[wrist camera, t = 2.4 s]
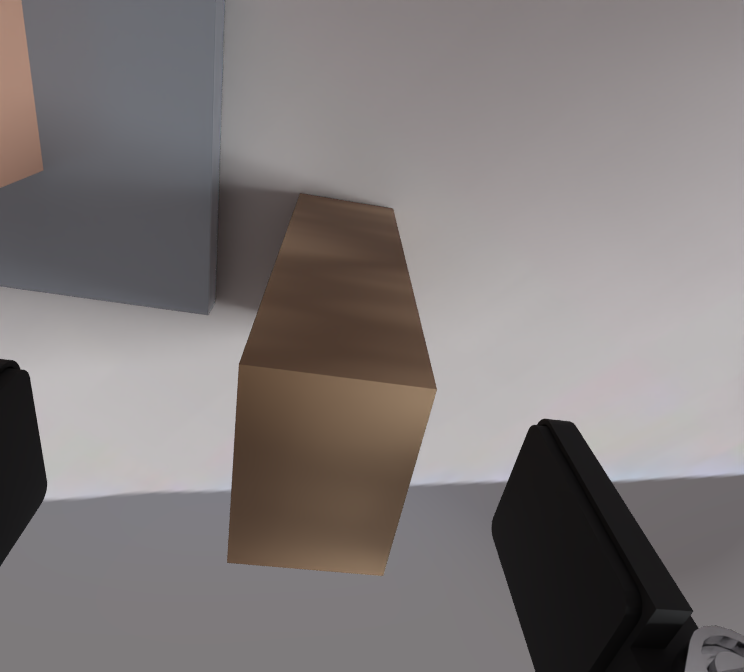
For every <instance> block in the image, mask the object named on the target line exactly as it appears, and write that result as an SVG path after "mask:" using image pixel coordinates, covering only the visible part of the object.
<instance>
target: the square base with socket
mask: <svg viewBox="0 0 744 672" xmlns="http://www.w3.org/2000/svg"><path fill="white" fill-rule="evenodd" d="M224 11H225V0H0V286H2V287H9V288H16V289H23V290H30V291H38V292H45V293H52V294H59V295H66V296H74V297H81V298H88V299H95V300H103V301H110V302H117V303H124V304H131V305H139V306H146V307H153V308H160V309H167V310H175V311H182V312H189V313H196V314H204V315H209V313H210V311H211V309H212V307H213V306H214V304H215V299H216V267H217V235H218V203H219V171H220V139H221V107H222V75H223V43H224Z"/></svg>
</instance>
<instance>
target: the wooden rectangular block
mask: <svg viewBox="0 0 744 672" xmlns="http://www.w3.org/2000/svg"><path fill="white" fill-rule="evenodd" d="M436 391H437V388H436V384H435V380H434V375H433V371H432V367H431V363H430V359H429V355H428V351H427V347H426V342H425V338H424V334H423V330H422V326H421V322H420V318H419V314H418V309H417V305H416V301H415V297H414V293H413V289H412V285H411V281H410V276H409V272H408V268H407V264H406V260H405V256H404V252H403V248H402V243H401V239H400V235H399V231H398V227H397V223H396V219H395V214H394V210H393V209H392V208H386V207H380V206H374V205H368V204H362V203H356V202H350V201H344V200H338V199H332V198H326V197H320V196H314V195H308V194H302V193H300V194H299V197H298V200H297V203H296V206H295V209H294V211H293V214H292V217H291V220H290V223H289V225H288V228H287V231H286V234H285V237H284V239H283V242H282V245H281V248H280V251H279V253H278V256H277V259H276V262H275V265H274V267H273V270H272V273H271V276H270V279H269V281H268V284H267V287H266V290H265V293H264V295H263V298H262V301H261V304H260V307H259V309H258V312H257V315H256V318H255V321H254V323H253V326H252V329H251V332H250V335H249V337H248V340H247V343H246V346H245V349H244V352H243V354H242V357H241V360H240V363H239V372H238V389H237V406H236V422H235V439H234V456H233V473H232V489H231V507H230V524H229V540H228V556H227V563H236V564H248V565H260V566H272V567H283V568H295V569H308V570H319V571H331V572H342V573H355V574H367V575H378V576H383V574H384V571H385V567H386V564H387V561H388V557H389V553H390V550H391V546H392V543H393V540H394V536H395V533H396V529H397V526H398V522H399V519H400V515H401V512H402V508H403V505H404V502H405V498H406V495H407V491H408V488H409V484H410V481H411V477H412V474H413V471H414V467H415V464H416V460H417V457H418V453H419V450H420V446H421V443H422V439H423V436H424V432H425V429H426V426H427V422H428V419H429V415H430V412H431V408H432V405H433V401H434V398H435V394H436Z"/></svg>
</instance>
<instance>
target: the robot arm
mask: <svg viewBox="0 0 744 672" xmlns="http://www.w3.org/2000/svg"><path fill="white" fill-rule="evenodd" d="M46 490H47V479H46V473H45V467H44V460H43V454H42V448H41V442H40V436H39V430H38V424H37V418H36V412H35V406H34V400H33V394H32V388H31V382H30V377H29V374H28V372H27V371H25V370H20V367H19V365H18V364H17V362H15V361H13V360H5V359H0V566H1V564H2V563H3V561H4V560H5V558H6V557H7V555H8V554H9V552H10V550H11V549H12V547H13V546H14V545H15V543H16V541H17V540H18V538H19V537H20V535H21V534H22V532H23V531H24V529H25V528H26V526H27V525H28V523H29V522H30V520H31V519H32V517H33V516H34V514H35V512H36V511H37V509H38V508H39V506H40V505H41V503H42V501H43V499H44V497H45V494H46ZM492 536H493V540H494V542H495V546H496V549H497V552H498V555H499V559H500V562H501V565H502V568H503V571H504V574H505V577H506V581H507V584H508V586H509V590H510V593H511V596H512V599H513V603H514V605H515V609H516V612H517V615H518V618H519V621H520V624H521V628H522V631H523V634H524V637H525V640H526V643H527V647H528V650H529V653H530V656H531V659H532V662H533V665H534V669H535V672H744V636H743V635H741V634H739V633H737V632H735V631H733V630H731V629H727V628H723V627H720V626H716V625H715V626H703V627H701V628H698V627H697V625H696V623H695V622H694V620H693V619H692V617H691V614H692V612H693V610H692V608H691V607H690V605H689V604H688V602H687V601H686V599H685V597H684V596H683V594H682V593H681V591H680V590H679V588H678V586H677V585H676V583H675V582H674V580H673V578H672V577H671V575H670V574H669V572H668V571H667V569H666V567H665V566H664V564H663V563H662V561H661V559H660V558H659V556H658V555H657V553H656V552H655V550H654V549H653V547H652V545H651V544H650V542H649V541H648V539H647V537H646V536H645V534H644V533H643V531H642V529H641V528H640V526H639V525H638V523H637V522H636V520H635V518H634V517H633V516H632V514H631V512H630V511H629V509H628V507H627V506H626V504H625V503H624V501H623V500H622V498H621V496H620V495H619V493H618V492H617V490H616V489H615V487H614V485H613V484H612V482H611V481H610V479H609V477H608V476H607V474H606V473H605V471H604V470H603V468H602V466H601V465H600V463H599V462H598V460H597V459H596V457H595V455H594V454H593V452H592V451H591V449H590V448H589V446H588V444H587V443H586V441H585V440H584V438H583V436H582V435H581V433H580V432H579V430H578V429H577V427H576V426H575V425H574V423H572V422H570V421H561V420H551V419H542V420H541V421H540V422H539V423H538V424H537V425H532V426H531V427H530V428H529V430H528V433H527V435H526V437H525V440H524V442H523V445H522V447H521V450H520V452H519V455H518V457H517V460H516V462H515V465H514V467H513V470H512V472H511V475H510V477H509V480H508V482H507V485H506V487H505V490H504V492H503V495H502V497H501V500H500V502H499V505H498V507H497V510H496V512H495V515H494V517H493V520H492Z"/></svg>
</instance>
